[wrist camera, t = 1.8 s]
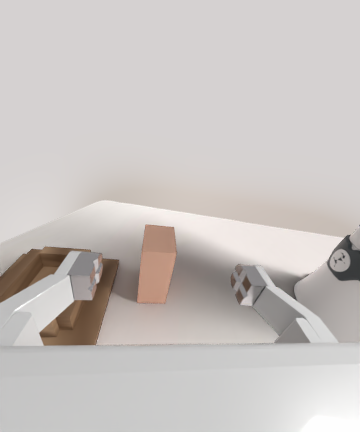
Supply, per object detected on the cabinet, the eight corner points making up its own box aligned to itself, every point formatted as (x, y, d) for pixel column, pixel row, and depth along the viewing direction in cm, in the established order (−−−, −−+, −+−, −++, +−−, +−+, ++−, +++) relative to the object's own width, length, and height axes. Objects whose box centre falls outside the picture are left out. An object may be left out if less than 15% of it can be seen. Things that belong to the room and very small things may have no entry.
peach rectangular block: (164, 273, 32) (173, 227, 27) (165, 303, 27) (176, 253, 22) (140, 272, 32) (145, 224, 26) (136, 302, 27) (141, 250, 21)
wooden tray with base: (118, 263, 33) (119, 247, 31) (94, 349, 21) (91, 333, 19) (24, 258, 30) (18, 240, 28) (-67, 354, 18) (-91, 335, 16)
